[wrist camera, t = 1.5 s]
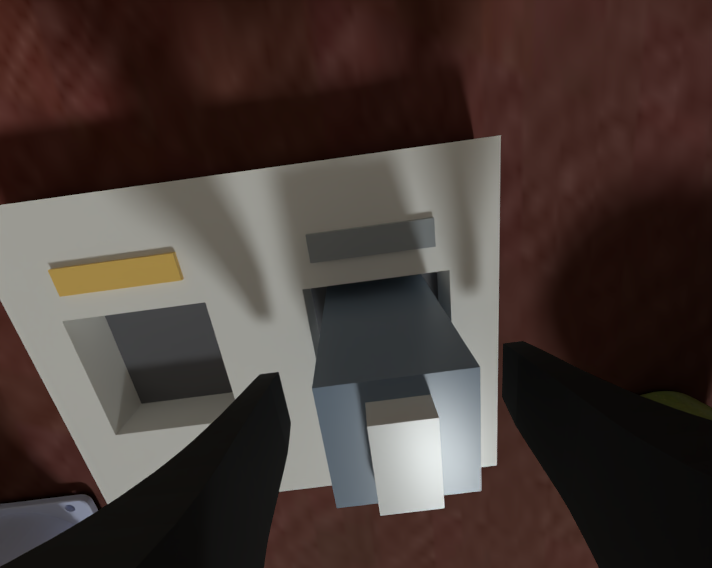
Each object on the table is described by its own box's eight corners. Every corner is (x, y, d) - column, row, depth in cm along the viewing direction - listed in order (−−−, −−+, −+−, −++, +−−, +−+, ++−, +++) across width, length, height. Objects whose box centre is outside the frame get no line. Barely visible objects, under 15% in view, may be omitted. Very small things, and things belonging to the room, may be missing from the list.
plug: (340, 365, 16) (336, 537, 9) (326, 285, 15) (308, 411, 8) (426, 354, 16) (492, 518, 9) (420, 273, 15) (493, 387, 7)
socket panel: (140, 468, 19) (108, 516, 16) (18, 202, 14) (-53, 212, 11) (478, 427, 18) (498, 468, 16) (474, 139, 13) (503, 135, 11)
